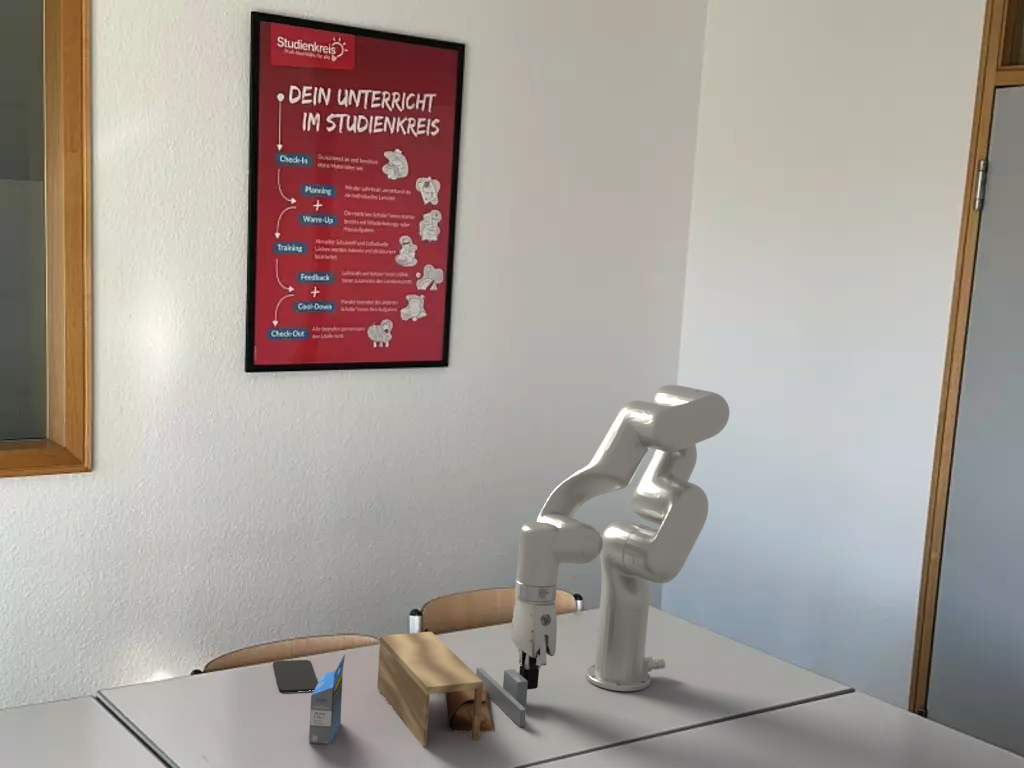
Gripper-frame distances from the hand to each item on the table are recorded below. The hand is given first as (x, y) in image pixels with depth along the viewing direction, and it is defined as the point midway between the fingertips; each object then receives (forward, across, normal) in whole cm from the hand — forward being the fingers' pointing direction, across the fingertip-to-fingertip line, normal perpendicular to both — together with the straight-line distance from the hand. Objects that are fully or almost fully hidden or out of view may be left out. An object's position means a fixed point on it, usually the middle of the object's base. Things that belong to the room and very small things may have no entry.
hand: (527, 687), depth 205 cm
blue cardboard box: (+3, -3, +39) cm, 39 cm away
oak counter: (+3, 0, +20) cm, 20 cm away
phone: (+4, +22, +38) cm, 44 cm away
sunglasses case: (+4, -1, +12) cm, 12 cm away
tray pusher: (+3, 0, +4) cm, 5 cm away
